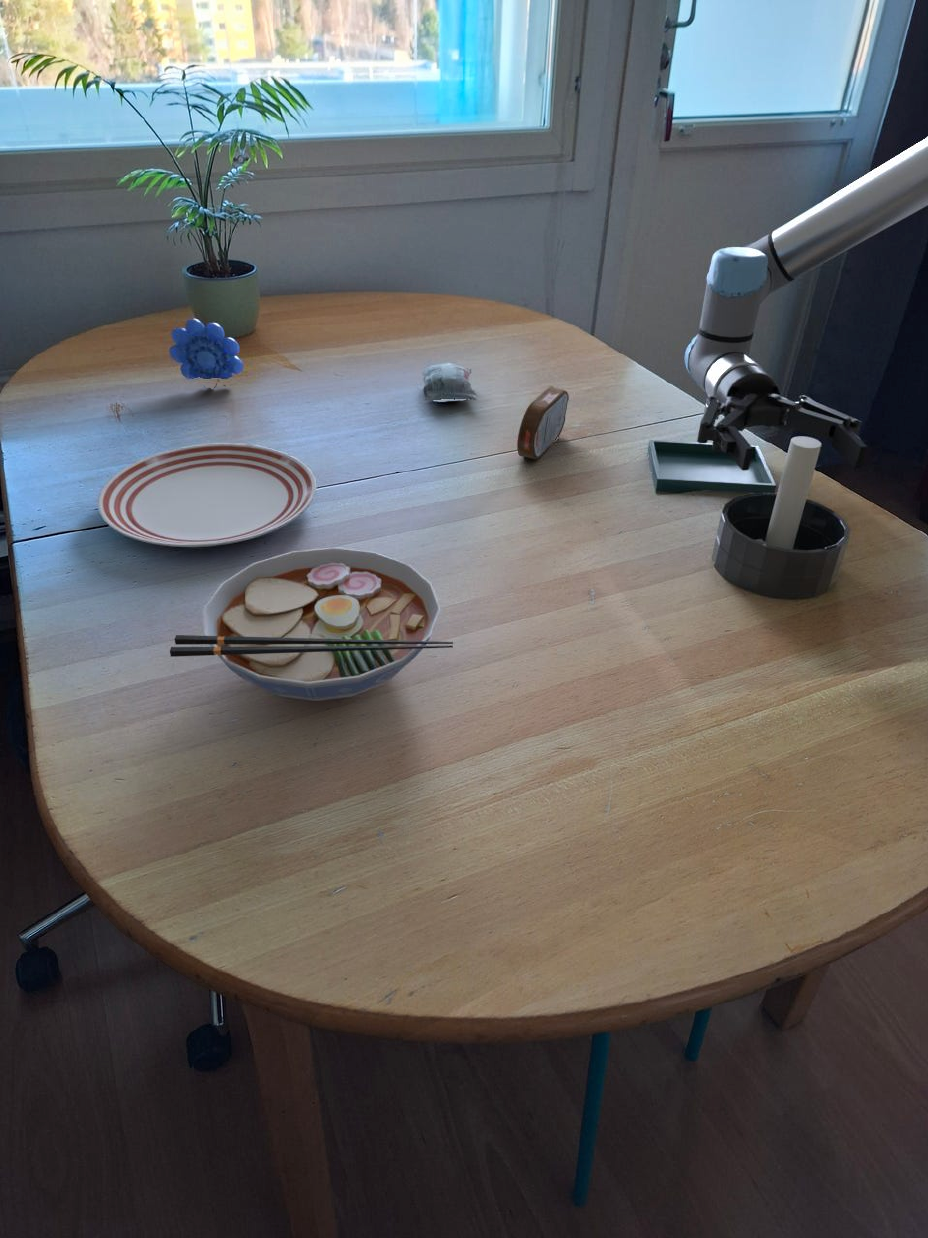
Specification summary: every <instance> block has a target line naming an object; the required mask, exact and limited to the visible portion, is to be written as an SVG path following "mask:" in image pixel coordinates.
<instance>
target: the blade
mask: <svg viewBox="0 0 928 1238" xmlns="http://www.w3.org/2000/svg"><path fill="white" fill-rule="evenodd" d="M821 448H822V442H821V441H819V439H816V438H813V437H810V436H804V435H803V436H802V435H801V436H794V437H792V438H791V439H790V442H789V446H788V450H787V453H786V457H785V461H784V465H783V469H782V473H781V477H780V481H779V485H778V489H777V492H776V493H777V496H776V500H775V504H774V508H773V512H772V516H771V520H770V524H769V528H768V532H767V536H766V539H765V542H764V541H763V540H762V539H757V540H756V541H759V542H762V543H765V544H767V545H771V546H775V547H780V548H785V549H793V545H794V542H795V538H796V535H797V531H798V527H799V524H800V520H801V517H802V513H803V509H804V506H805V502H806V499H807V498H808V494H809V491H810V488H811V484H812V480H813V478H814V474H815V469H816V466H817V463H818V460H819V455H820V452H821Z"/></svg>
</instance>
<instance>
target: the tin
mask: <svg viewBox="0 0 928 1238" xmlns="http://www.w3.org/2000/svg"><path fill="white" fill-rule="evenodd" d="M569 400H570V396H569V392H568V391H567V390H565V389H563V388H559V387H555V386H553V385H549V386H548V387H547V388H546V389H545V390H543V391H542V392H541V393H540V394H539V395H538V396H537V397H535V399H533V400H532V401H531V402H530V403H529V405H528V406H527V408H526V409H525V412H524V414H523V417H522V419H521V423H520V426H519V429H518V435H517V442H516V443H517V446H516V447H517V454H518V455H519V457H524V458H527V459H531V460H538V459H540V458H541V457H542V456H543V455H544V454H545V453H546V452H547V451H548V450H549V449H550V447H551V446H552V445H553V444H554V443H555V442H556V441H557V440H558V439H557V437H558V438H559V437H560V436H561V433H562V431H563V428H564V426H565V423H566V414H567V409H568V404H569ZM556 439H557V440H556ZM555 440H556V441H555ZM554 441H555V442H554ZM553 442H554V443H553ZM552 443H553V444H552ZM551 444H552V445H551ZM550 445H551V446H550ZM549 446H550V447H549ZM544 452H545V453H544ZM543 453H544V454H543ZM542 454H543V455H542ZM541 455H542V456H541ZM540 456H541V457H540ZM539 457H540V458H539Z"/></svg>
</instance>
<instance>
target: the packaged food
mask: <svg viewBox="0 0 928 1238" xmlns="http://www.w3.org/2000/svg"><path fill="white" fill-rule="evenodd" d="M471 374H472V368H465V367H463V366H461V365H457V364H453V363H452V362H445V363H439V364H431V365H427V366H426V367H424V369H423V371H422V378H423V383H424V384H423V385H424V386H423V393H424V397H425V399H426V401H427V402H428V403H433V402H432V401H433V400H441V399H454V400H455V399H466V400H467V401H469V400H468V399H470V400H473V401H477V400H478V395H477V392H476V391H475V389H473V388H472V384H471V382H470V378H469V377H470V376H471Z"/></svg>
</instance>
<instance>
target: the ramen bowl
mask: <svg viewBox="0 0 928 1238" xmlns="http://www.w3.org/2000/svg"><path fill="white" fill-rule="evenodd" d="M441 610H442V606H441V604H440V601H439V598H438V596H437V592H436V591H435V587H434V584H433V583H432V582H431V581H430V580H429V579H428V578H426V577H425V576H424V575H423V574H422V573H420V572H419V571H418V570H417V569H416V568H414V567H413V566H412V565H411V564H410V563H408V562H405V561H401V560H399V559H396V558H393V557H391V556H388V555H386V554H382V553H380V552H376V551H372V550H371V551H370V550H363V549H354V548H346V547H337V546H333V547H331V546H330V547H322V548H312V549H303V550H293V551H287V552H285V553H282V554H279V555H275V556H273V557H272V556H271V557H270V558H266V559H263V560H259V561H256V562H253V563H251V564H249V565H248V566H246V567H244V568H243V569H241V570H240V571H238V572H237V573H234V575H232V576H230V577H229V578H227V579H226V580H224V581H222V582H221V583H220V585H218V587H217V589H215V591H214V593H213V594H212V595H211V597H210V598H209V599H208V600H207V602H206V603H205V605H203V607H202V635H193V634H191V635H190V634H189V635H187V634H176V635H175V637H174V643H175V645H176V646H170V648H169V654H170V655H169V656H170V657H171V658H174V657H176V658H177V657H206V656H218V657H219V659H220V660H221V661H222V662H223V663H224V664H225V665H226V666H227V668H228V669H229V670H230V671H232V673H234V674H236V675H237V676H239V678H241V679H242V680H243V679H244V680H245V681H247V682H249V683H252V684H253V685H256V686H257V687H260V688H262V689H264V690H266V691H268V692H271V693H273V694H274V695H277V696H279V697H282V698H290V699H298V700H303V701H304V700H306V701H311V702H312V701H313V702H319V701H321V702H322V701H328V700H335V699H343V698H351V697H355V696H357V695H360V694H362V693H364V692H367V691H369V690H372V689H374V688H378V687H380V686H382V685H384V684H386V683H388V682H389V681H390V680H392V679H393V678H394V677H395V676H396V675H397V674H398V673H399V672H401V670H403V669H404V668H405V667H406V666H407V665H408V664H409V663H411V662H412V661H413V660H414V659H415V658H416V657H417V656H418V655H419V654H420V653H421V652H422V651H423V649H447V648H448V649H451V648H454V646H453V645H454V642H453V641H433V640H432V641H431V640H430V639H431V637H432V636H433V632H434V629H435V627H436V624H437V621H438V619H439V616H440V613H441ZM177 645H181V646H177ZM182 645H183V646H182ZM185 645H210V646H185Z"/></svg>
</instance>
